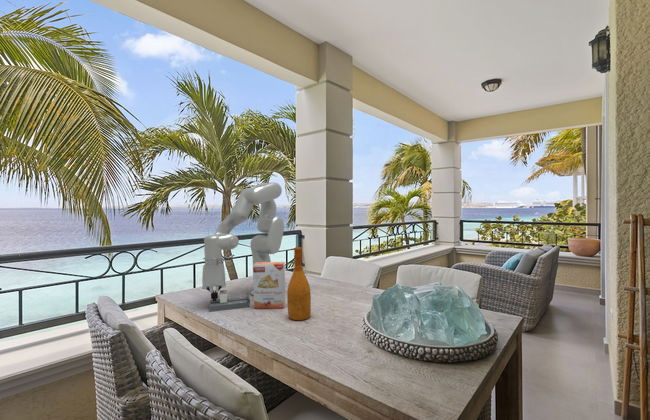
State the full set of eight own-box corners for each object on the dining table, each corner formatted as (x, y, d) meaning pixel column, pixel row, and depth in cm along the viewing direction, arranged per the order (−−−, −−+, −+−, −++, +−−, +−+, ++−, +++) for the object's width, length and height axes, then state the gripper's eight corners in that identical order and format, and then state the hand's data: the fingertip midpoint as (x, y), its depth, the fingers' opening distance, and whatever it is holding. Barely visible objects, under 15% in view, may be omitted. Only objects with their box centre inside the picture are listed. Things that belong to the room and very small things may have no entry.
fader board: (248, 300, 157) (248, 292, 157) (250, 307, 147) (249, 298, 147) (210, 305, 151) (210, 296, 151) (209, 311, 142) (209, 303, 142)
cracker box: (253, 309, 144) (252, 264, 144) (256, 305, 150) (255, 261, 150) (284, 308, 144) (282, 263, 144) (285, 304, 150) (284, 261, 150)
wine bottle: (314, 314, 136) (312, 245, 135) (305, 322, 127) (304, 248, 126) (293, 312, 139) (292, 245, 139) (283, 320, 130) (282, 248, 129)
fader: (227, 300, 151) (226, 290, 151) (227, 304, 146) (226, 292, 146) (220, 301, 150) (220, 290, 150) (220, 304, 146) (219, 293, 145)
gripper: (229, 259, 153) (231, 296, 153) (197, 261, 148) (198, 299, 149) (229, 261, 145) (231, 301, 146) (195, 264, 141) (196, 304, 142)
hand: (214, 300), depth 147 cm, fingers closed
